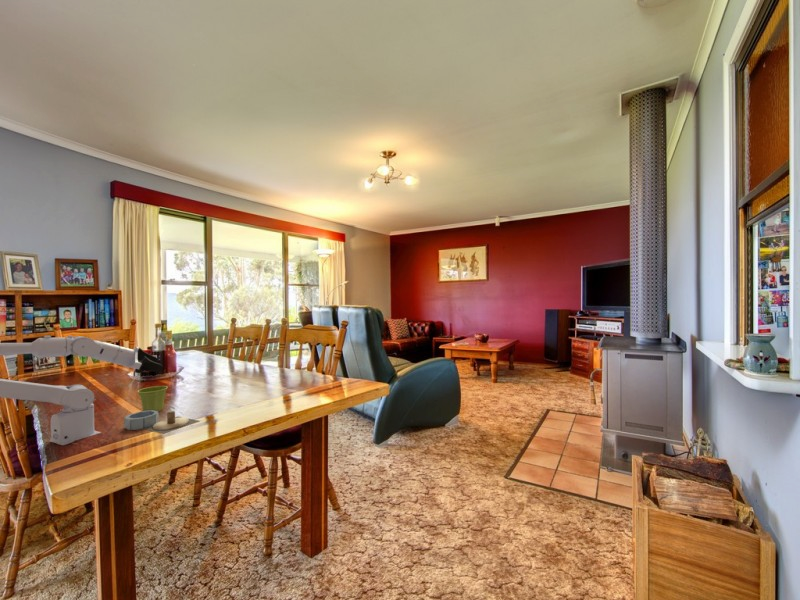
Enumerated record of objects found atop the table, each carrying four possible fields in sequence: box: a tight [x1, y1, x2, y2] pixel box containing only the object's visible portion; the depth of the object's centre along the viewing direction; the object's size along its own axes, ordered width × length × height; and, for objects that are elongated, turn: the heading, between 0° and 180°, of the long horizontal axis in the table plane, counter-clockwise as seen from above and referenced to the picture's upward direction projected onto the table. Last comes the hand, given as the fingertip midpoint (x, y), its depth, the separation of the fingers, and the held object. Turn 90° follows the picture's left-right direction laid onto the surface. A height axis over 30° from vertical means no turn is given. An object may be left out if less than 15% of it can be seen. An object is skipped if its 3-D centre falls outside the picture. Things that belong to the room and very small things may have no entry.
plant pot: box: [137, 385, 169, 412], centre depth 131 cm, size 9×9×9 cm
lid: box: [153, 410, 190, 430], centre depth 116 cm, size 10×10×4 cm
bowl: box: [123, 410, 160, 431], centre depth 116 cm, size 9×9×4 cm
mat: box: [141, 416, 200, 435], centre depth 116 cm, size 12×12×1 cm
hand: (159, 364), depth 125 cm, fingers open, 7 cm apart
